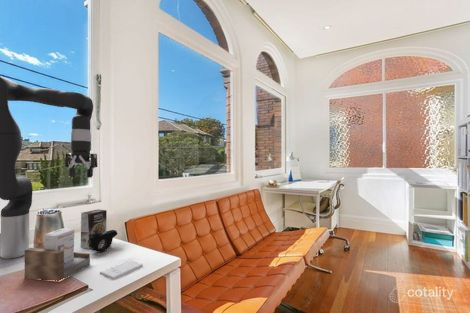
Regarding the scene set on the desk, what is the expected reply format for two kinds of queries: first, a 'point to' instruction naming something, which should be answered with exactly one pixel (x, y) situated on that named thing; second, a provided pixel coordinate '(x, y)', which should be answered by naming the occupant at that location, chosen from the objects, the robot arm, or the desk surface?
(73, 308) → the desk surface
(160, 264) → the desk surface
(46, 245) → the ink box
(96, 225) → the coffee box
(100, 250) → the controller
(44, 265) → the brown open tray
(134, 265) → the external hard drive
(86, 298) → the desk surface
